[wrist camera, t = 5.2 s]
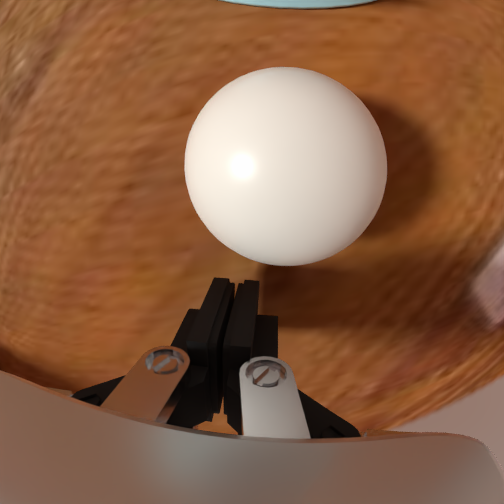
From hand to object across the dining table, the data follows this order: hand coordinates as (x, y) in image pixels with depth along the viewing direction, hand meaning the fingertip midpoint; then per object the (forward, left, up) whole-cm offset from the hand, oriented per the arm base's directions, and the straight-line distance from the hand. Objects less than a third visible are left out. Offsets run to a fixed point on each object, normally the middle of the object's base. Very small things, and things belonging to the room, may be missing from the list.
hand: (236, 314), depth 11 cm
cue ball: (-5, -2, +1) cm, 6 cm away
